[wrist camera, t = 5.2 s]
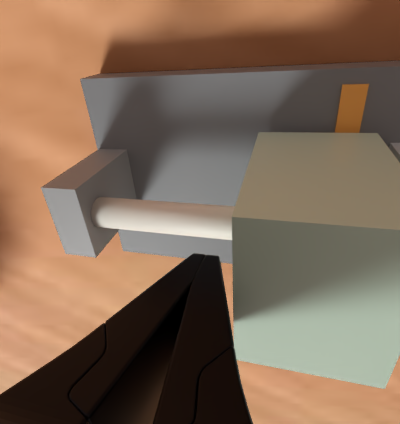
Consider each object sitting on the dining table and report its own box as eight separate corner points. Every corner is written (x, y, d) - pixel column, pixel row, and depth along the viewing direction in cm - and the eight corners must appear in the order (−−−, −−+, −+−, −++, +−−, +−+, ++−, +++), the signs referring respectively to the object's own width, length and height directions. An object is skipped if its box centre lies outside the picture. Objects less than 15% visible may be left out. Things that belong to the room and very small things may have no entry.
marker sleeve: (377, 132, 10) (452, 233, 6) (350, 249, 13) (384, 388, 8) (258, 131, 11) (231, 216, 7) (255, 240, 14) (234, 359, 9)
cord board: (499, 55, 10) (766, 103, 4) (418, 264, 15) (496, 420, 9) (99, 73, 14) (-39, 111, 8) (134, 235, 19) (62, 332, 13)
